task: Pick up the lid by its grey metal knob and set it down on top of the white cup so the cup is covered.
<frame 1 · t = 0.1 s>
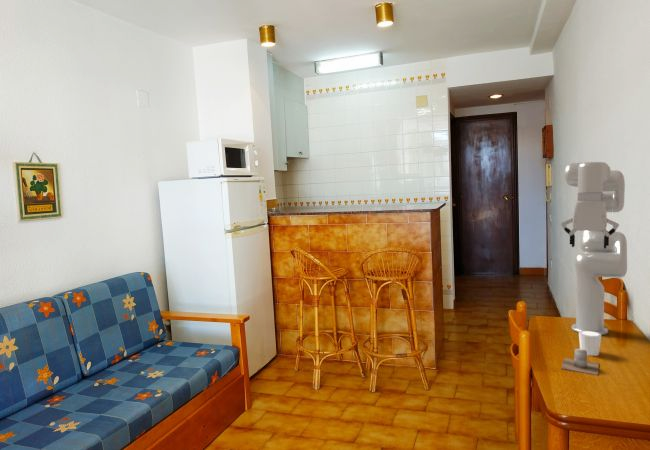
hand: (588, 247, 159), 37 cm above the table, tool pointing down, fingers open, 9 cm apart
white cup: (589, 353, 159), on the table
lid: (580, 368, 147), on the table
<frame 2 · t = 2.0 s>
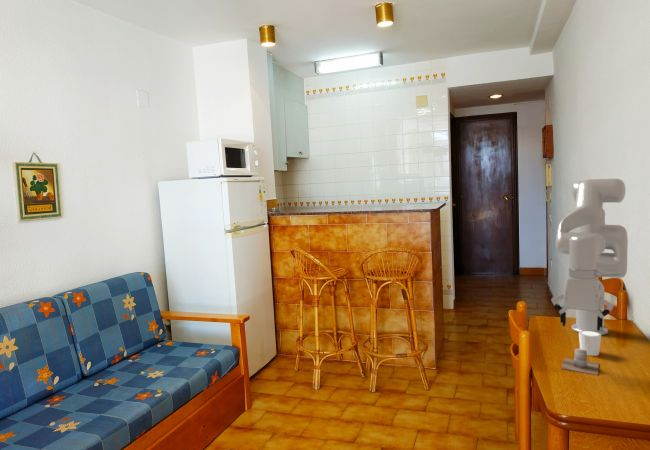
hand: (581, 327, 145), 13 cm above the table, tool pointing down, fingers open, 9 cm apart
nothing on the table moved.
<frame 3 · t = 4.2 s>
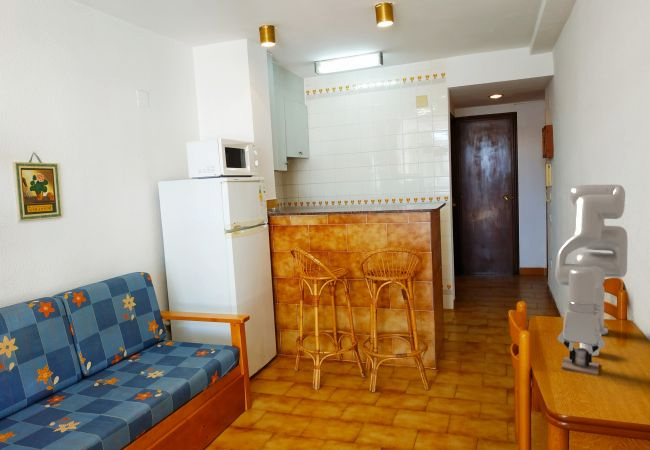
hand: (580, 362, 147), 1 cm above the table, tool pointing down, fingers closed on lid, 3 cm apart
lid: (580, 366, 147), on the table, touching gripper
everything else where it was.
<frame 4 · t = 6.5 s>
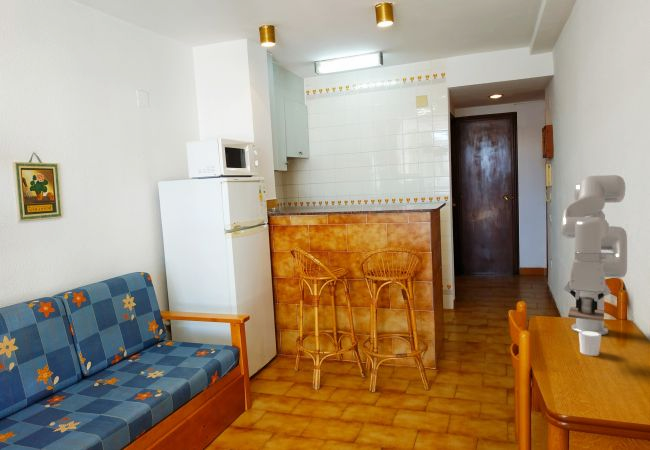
hand: (586, 310, 152), 16 cm above the table, tool pointing down, fingers closed on lid, 3 cm apart
lid: (586, 314, 152), point 15 cm above the table, touching gripper
everything else where it was.
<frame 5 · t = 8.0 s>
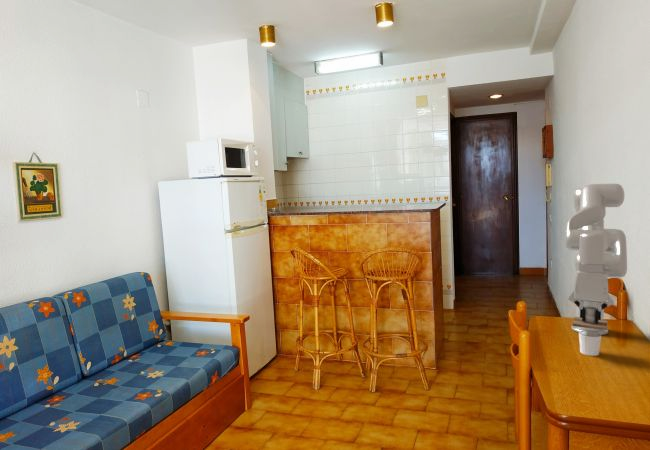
hand: (590, 320, 157), 12 cm above the table, tool pointing down, fingers closed on lid, 3 cm apart
lid: (590, 324, 157), point 10 cm above the table, touching gripper
everything else where it was.
when the fingers open (10 cm above the table, at t = 9.0 s): lid drops 1 cm, resting on white cup.
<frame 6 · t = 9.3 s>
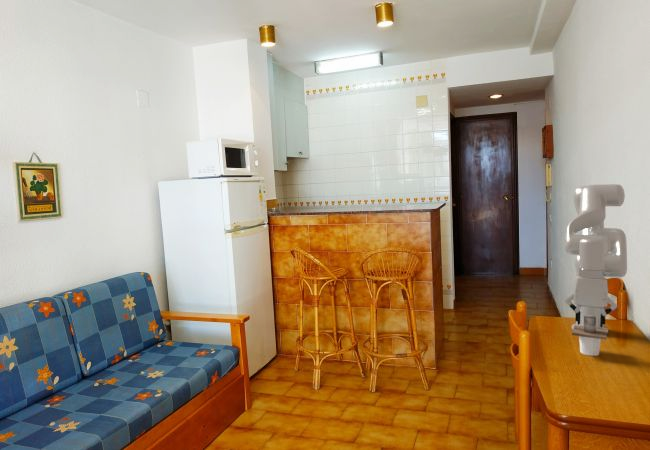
hand: (590, 324, 158), 10 cm above the table, tool pointing down, fingers open, 6 cm apart
white cup: (589, 353, 159), on the table, touching lid
lid: (589, 333, 158), point 7 cm above the table, touching white cup
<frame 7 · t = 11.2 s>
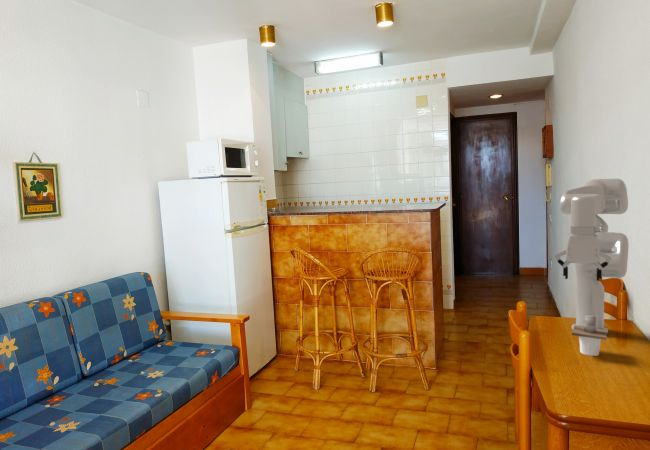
hand: (581, 279, 160), 25 cm above the table, tool pointing down, fingers open, 9 cm apart
nothing on the table moved.
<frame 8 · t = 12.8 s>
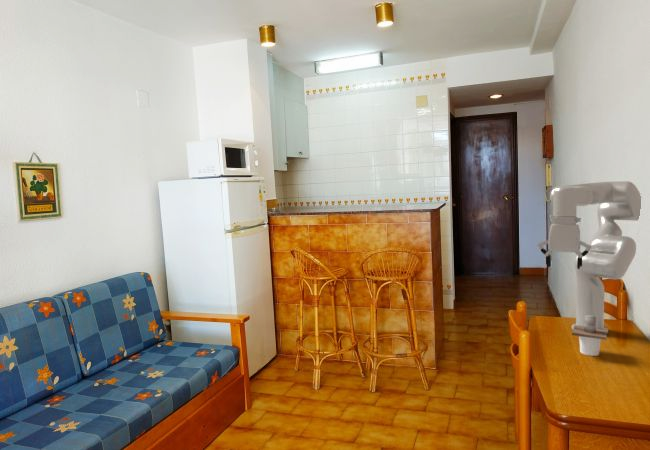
hand: (563, 267, 167), 28 cm above the table, tool pointing down, fingers open, 9 cm apart
nothing on the table moved.
at the end: lid 0.1 cm off-centre on the white cup, point 7.2 cm above the white cup's base; lid tilted 0°; the gripper is holding nothing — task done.
